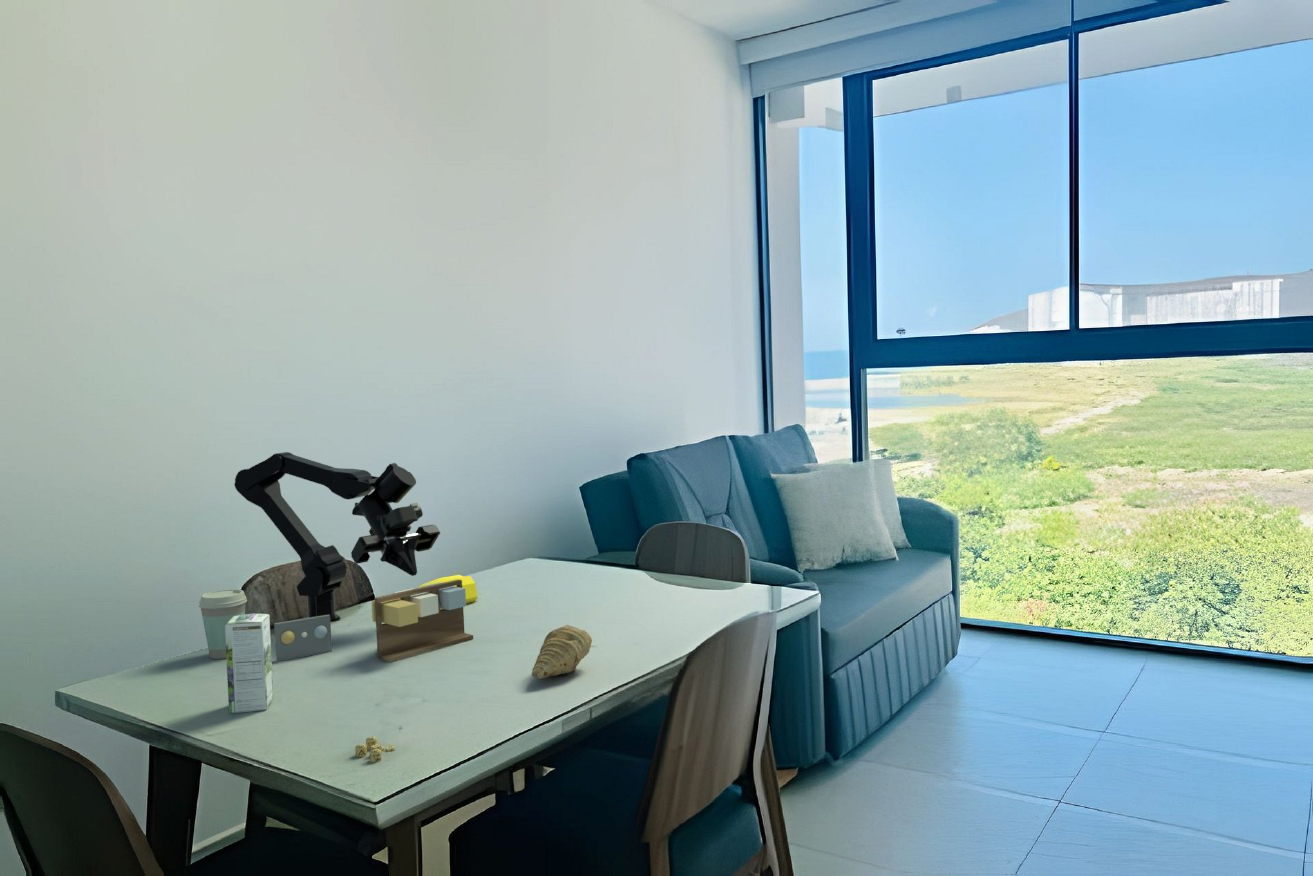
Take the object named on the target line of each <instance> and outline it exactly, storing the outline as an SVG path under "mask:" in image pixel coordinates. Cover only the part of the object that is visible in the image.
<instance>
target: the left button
mask: <svg viewBox="0 0 1313 876" xmlns="http://www.w3.org/2000/svg"><path fill="white" fill-rule="evenodd" d="M371 616H372V619H371V620H372V622H374V623H376V617H375V599H374V600H371ZM381 618H382V624H384V623H386V624H390V625H394V626H398V627H401V626H405V625H409V624H413V623H417V622H418V611H417V603H412V602H408V601H403V600H399V599H394V600H389V601H385V602H381Z"/></svg>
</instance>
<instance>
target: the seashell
mask: <svg viewBox="0 0 1313 876" xmlns="http://www.w3.org/2000/svg"><path fill="white" fill-rule="evenodd" d="M543 640H544V641H543V643H542V644H541V647H540V649H539V654H538V655H537V658H536V660H535V662H534V665H533V668H532V672H531V677H533V678H535V679H538V680H541V679H544V678H547V677H552V676H553V677H555V676H558V675H566V673H567V674H570V673H571V672H574V671H575V670H576V669H577V667H578V665H579V664H580V662H581V661H582V660H583V659H584V658H585V657H586V656H587V655H588V654H589V653H590V652H591V651H590V650H591V646H592V642H593V639H592V636H591V635H590V634H589V633H588V632H587V631H586V630H584V629H580V628H578V627H575V626H572V625H569V624H566V625H564V626H560V627H558V628H555V629H553V630H551V631H549V633H548V634H547V635H546V636H545V638H544V639H543Z"/></svg>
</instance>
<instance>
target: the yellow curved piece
mask: <svg viewBox="0 0 1313 876" xmlns="http://www.w3.org/2000/svg"><path fill="white" fill-rule="evenodd" d="M458 579H459V580H462V588H465V593H466V605H467V603H468V604H471V603H470V602H472V603H474V602H476V600H477V599H478V597H479V596H478V591H477V587H476V586H477V585H476V581H474V579H473V578H472V577H471V575H467V576H465V575H461V574H455V575H450V576H444V577H439V578H436V579H434V580H431V581H428V582H425V583H423V584H420V586H419V587H418V588H422V586H426V585H430V584H435V583H439V582H441V583H444V582H449V581H453V580H458ZM455 587H457V586H455ZM441 609H442V608H440V610H441Z"/></svg>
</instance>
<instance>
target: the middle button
mask: <svg viewBox="0 0 1313 876" xmlns="http://www.w3.org/2000/svg"><path fill="white" fill-rule="evenodd" d="M413 589H414V588H413V587H412V588H409V589H405V590H399V591H395V592H394V591H393V593H392V594H395V593H399V592H404V591H408V590H413ZM398 599H399V600H400V598H398ZM411 602H412V603H417V611H418V617H424V616H428V615H432V614H436V613H439V611H438V595H435V594H431V593H426V592H425V593H420V594H416V595H412V596H411Z"/></svg>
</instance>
